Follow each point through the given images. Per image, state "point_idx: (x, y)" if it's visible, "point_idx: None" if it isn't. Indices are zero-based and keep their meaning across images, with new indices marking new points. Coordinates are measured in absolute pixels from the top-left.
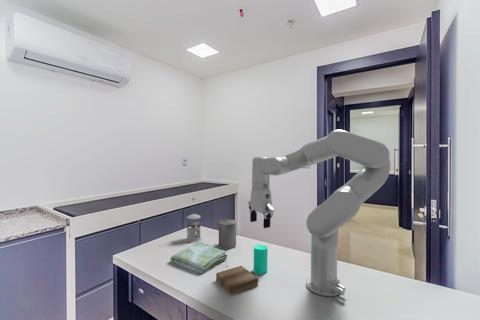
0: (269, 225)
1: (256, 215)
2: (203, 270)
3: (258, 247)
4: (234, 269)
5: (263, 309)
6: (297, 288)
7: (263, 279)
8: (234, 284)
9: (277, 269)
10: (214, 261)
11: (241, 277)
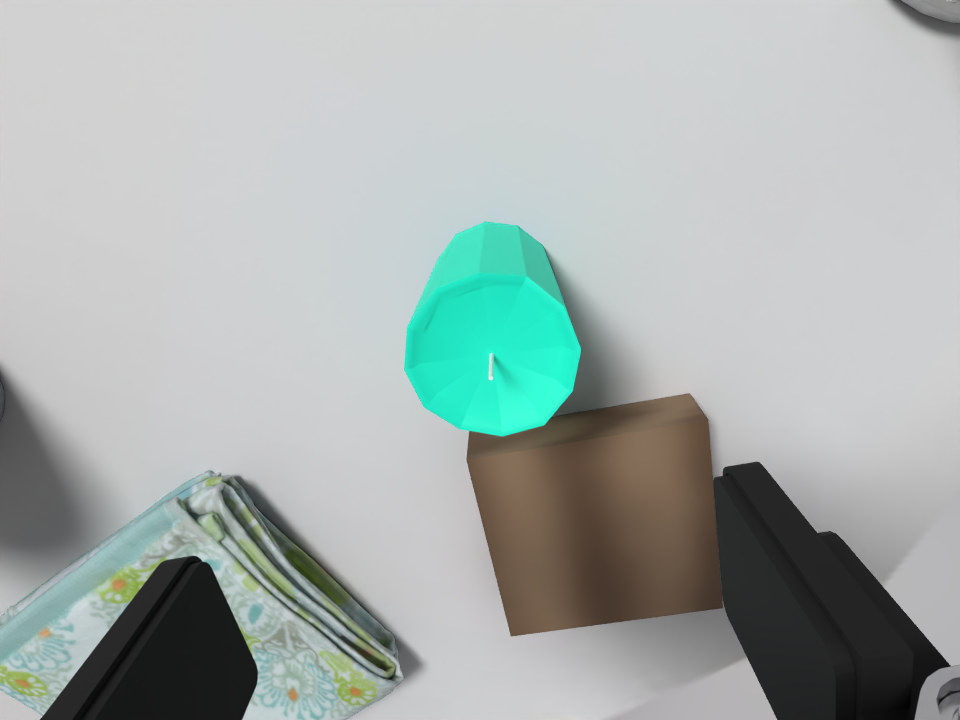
0: (832, 536)
1: (123, 686)
2: (393, 655)
3: (464, 370)
4: (507, 523)
5: (924, 461)
6: (881, 118)
7: (630, 319)
8: (703, 582)
9: (529, 118)
10: (321, 601)
11: (642, 518)
